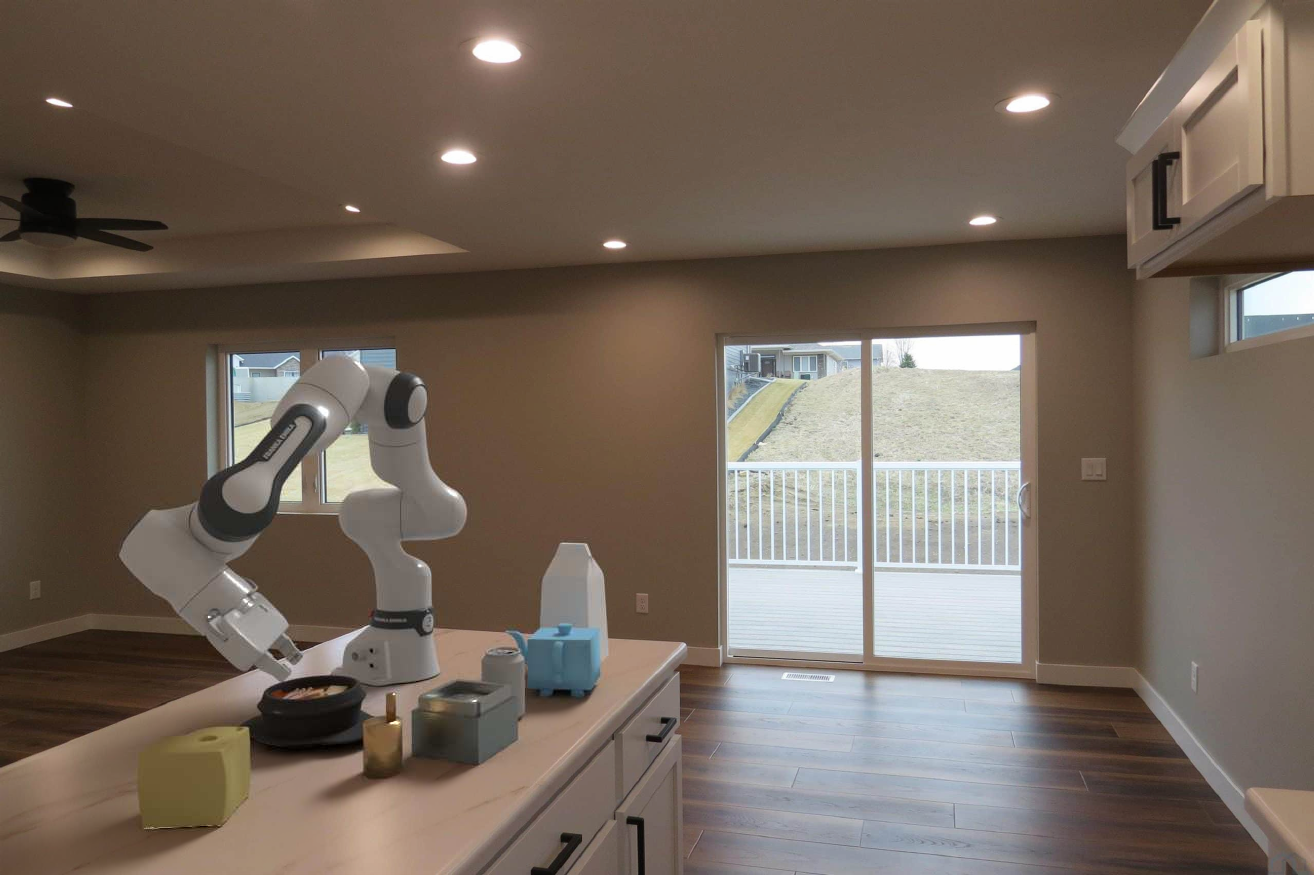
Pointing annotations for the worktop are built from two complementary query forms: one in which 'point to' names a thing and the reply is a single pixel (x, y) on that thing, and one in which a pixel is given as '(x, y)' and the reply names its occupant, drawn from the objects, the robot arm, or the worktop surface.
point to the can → (506, 671)
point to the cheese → (194, 778)
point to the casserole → (310, 712)
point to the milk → (575, 592)
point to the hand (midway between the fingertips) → (293, 668)
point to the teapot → (561, 658)
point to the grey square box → (464, 721)
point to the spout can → (383, 743)
